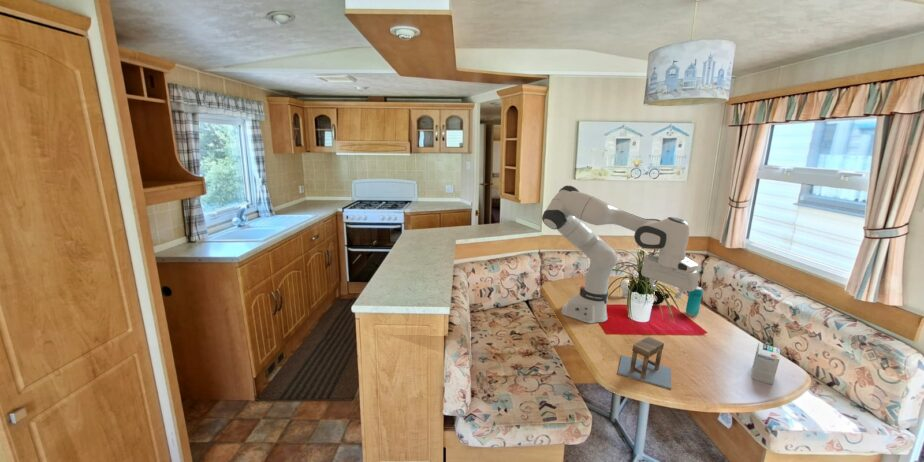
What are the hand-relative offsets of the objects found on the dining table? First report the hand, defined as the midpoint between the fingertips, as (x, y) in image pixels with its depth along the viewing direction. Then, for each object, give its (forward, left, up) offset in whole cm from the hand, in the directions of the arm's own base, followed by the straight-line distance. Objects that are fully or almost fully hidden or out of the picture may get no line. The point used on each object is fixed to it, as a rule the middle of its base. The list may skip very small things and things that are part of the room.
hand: (665, 293), depth 146 cm
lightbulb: (-17, +62, -29) cm, 71 cm away
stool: (-1, -6, -23) cm, 24 cm away
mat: (-3, -11, -29) cm, 31 cm away
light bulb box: (+38, +10, -30) cm, 49 cm away
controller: (-1, +62, -29) cm, 69 cm away
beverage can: (+16, +58, -29) cm, 67 cm away
